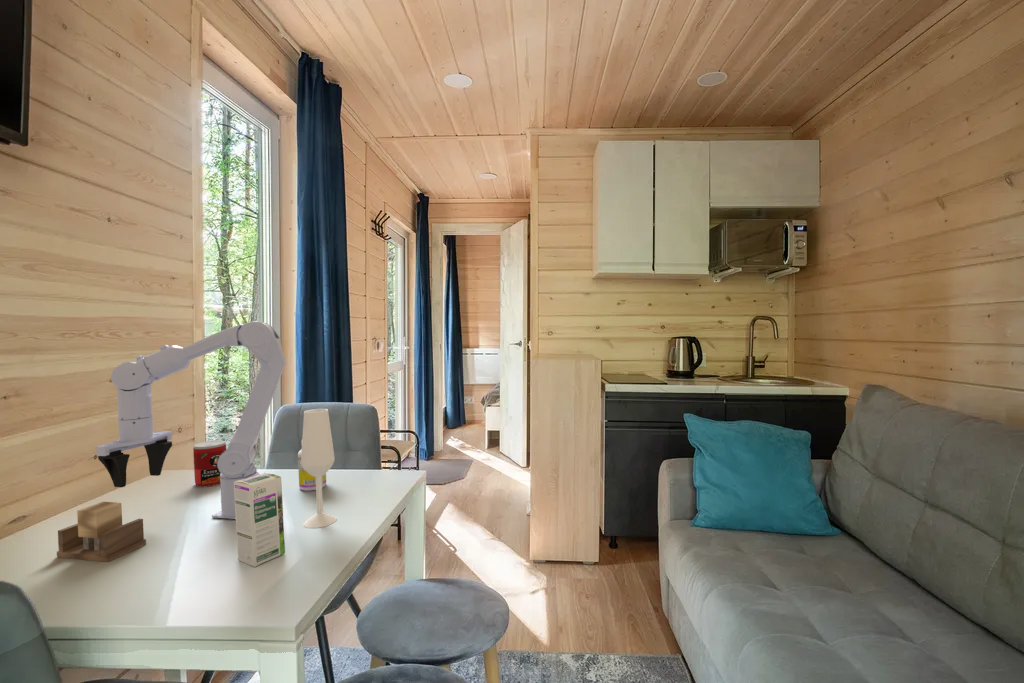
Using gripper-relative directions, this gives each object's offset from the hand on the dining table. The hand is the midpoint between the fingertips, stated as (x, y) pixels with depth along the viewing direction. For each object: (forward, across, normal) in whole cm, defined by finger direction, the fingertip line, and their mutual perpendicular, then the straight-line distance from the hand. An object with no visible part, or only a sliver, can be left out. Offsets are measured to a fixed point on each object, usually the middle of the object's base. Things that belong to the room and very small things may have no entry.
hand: (138, 480), depth 99 cm
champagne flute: (+10, -8, +38) cm, 40 cm away
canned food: (+10, -28, -10) cm, 31 cm away
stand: (+10, +10, +4) cm, 15 cm away
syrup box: (+10, +8, +37) cm, 39 cm away
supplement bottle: (+10, -28, +22) cm, 37 cm away
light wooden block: (+6, +10, +4) cm, 13 cm away
